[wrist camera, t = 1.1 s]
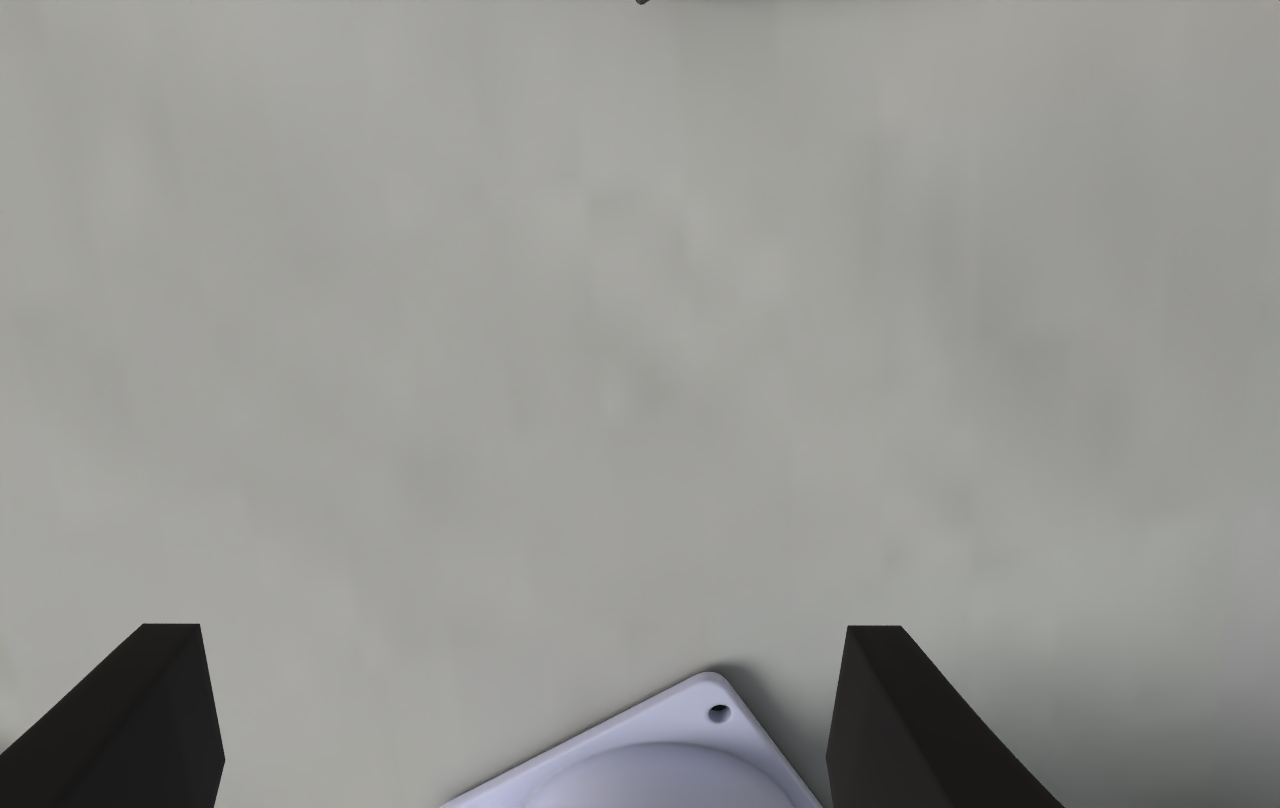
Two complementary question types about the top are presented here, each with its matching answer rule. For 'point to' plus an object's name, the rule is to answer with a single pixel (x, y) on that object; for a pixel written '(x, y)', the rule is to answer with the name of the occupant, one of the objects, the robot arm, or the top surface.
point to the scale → (642, 1)
